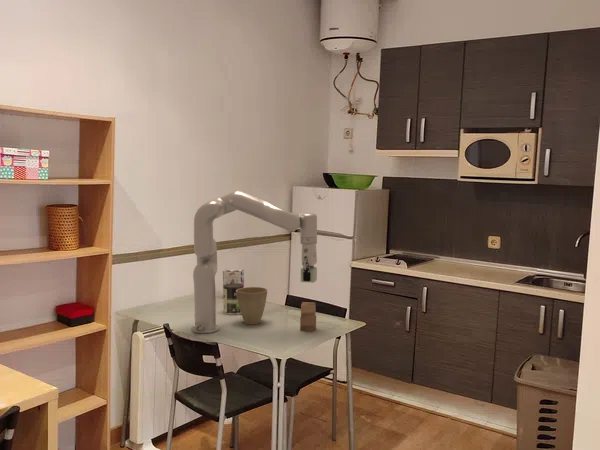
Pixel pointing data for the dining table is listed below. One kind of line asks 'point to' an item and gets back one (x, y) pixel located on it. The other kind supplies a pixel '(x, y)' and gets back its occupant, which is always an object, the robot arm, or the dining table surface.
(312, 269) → the sage block
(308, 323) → the tower base block
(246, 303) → the plant pot
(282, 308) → the dining table surface
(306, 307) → the tower block
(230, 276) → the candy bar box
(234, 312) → the coffee can
